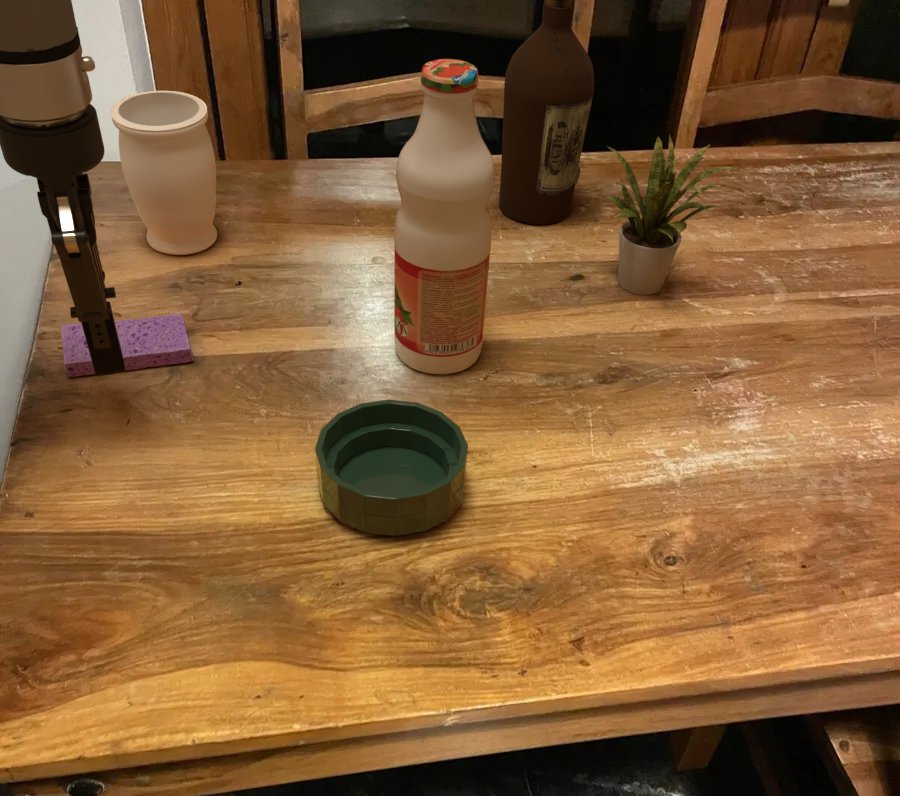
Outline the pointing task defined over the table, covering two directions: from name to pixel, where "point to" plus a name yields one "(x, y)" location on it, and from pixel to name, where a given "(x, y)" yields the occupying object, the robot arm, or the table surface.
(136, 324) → the sponge
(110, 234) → the table surface
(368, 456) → the dish
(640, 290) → the house plant
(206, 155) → the jar
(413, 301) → the fruit juice
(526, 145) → the olive oil
